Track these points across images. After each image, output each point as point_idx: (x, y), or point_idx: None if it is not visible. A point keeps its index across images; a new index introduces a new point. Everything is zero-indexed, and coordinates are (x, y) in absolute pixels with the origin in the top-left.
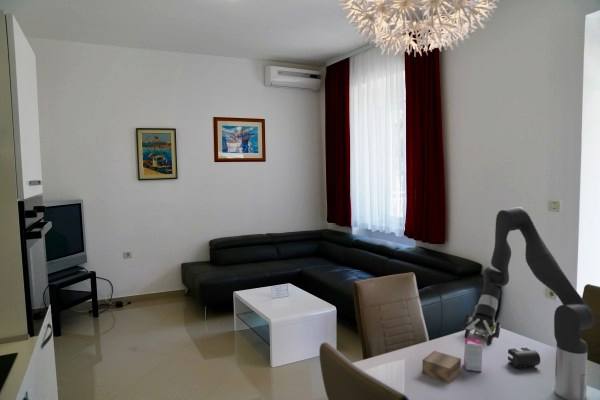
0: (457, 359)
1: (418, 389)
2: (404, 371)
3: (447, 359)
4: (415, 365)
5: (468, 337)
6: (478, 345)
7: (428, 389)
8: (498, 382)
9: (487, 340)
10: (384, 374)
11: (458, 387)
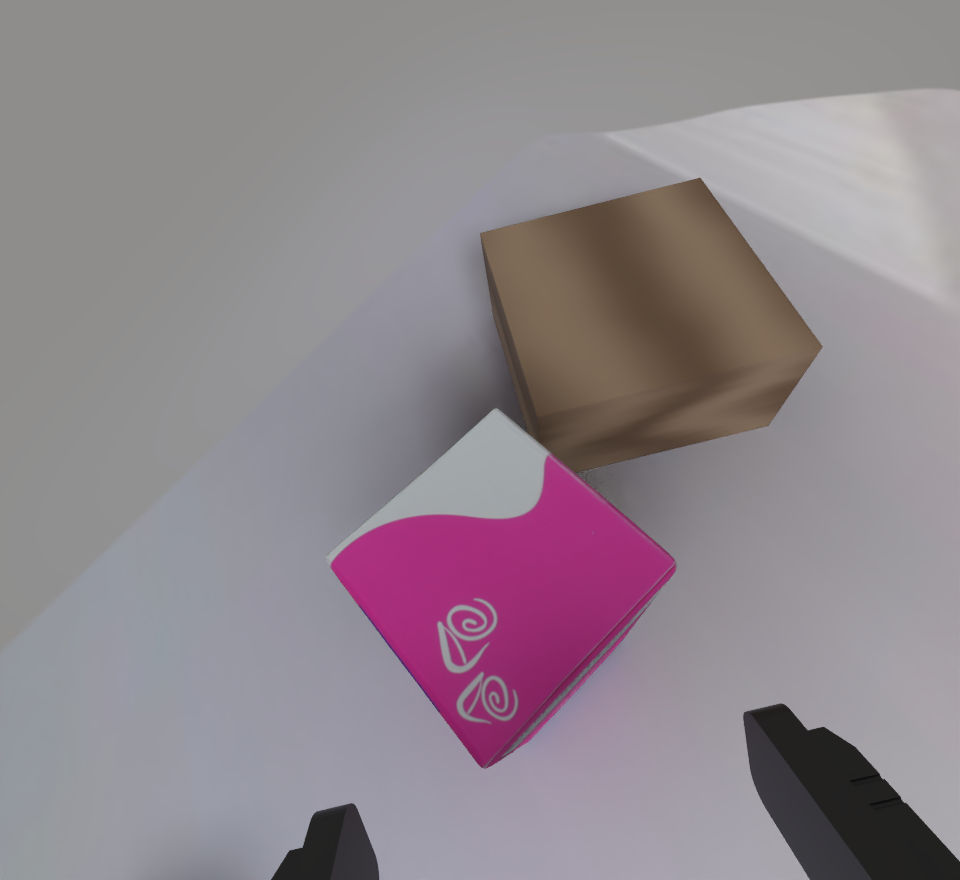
0: (545, 380)
1: (551, 170)
2: (755, 211)
3: (597, 313)
4: (804, 303)
5: (790, 838)
6: (378, 517)
7: (521, 200)
8: (263, 587)
9: (324, 866)
10: (771, 128)
11: (430, 320)
